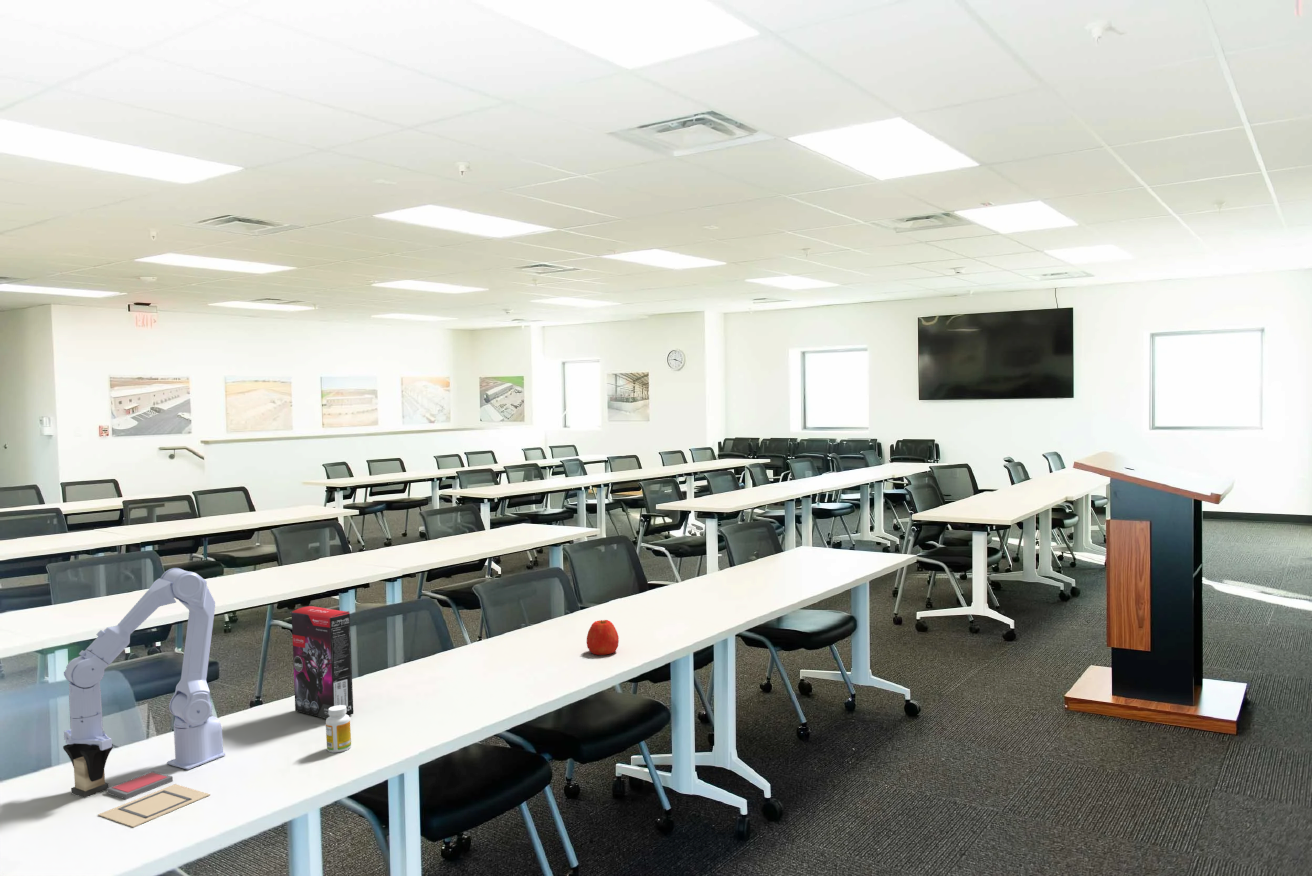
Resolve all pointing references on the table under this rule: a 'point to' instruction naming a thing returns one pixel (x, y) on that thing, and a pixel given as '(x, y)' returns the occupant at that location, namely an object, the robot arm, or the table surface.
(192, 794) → the cardboard sheet
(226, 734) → the table surface
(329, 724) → the supplement bottle
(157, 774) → the ink pad
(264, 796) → the table surface
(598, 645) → the apple
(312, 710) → the graphics card box
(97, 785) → the stamp
